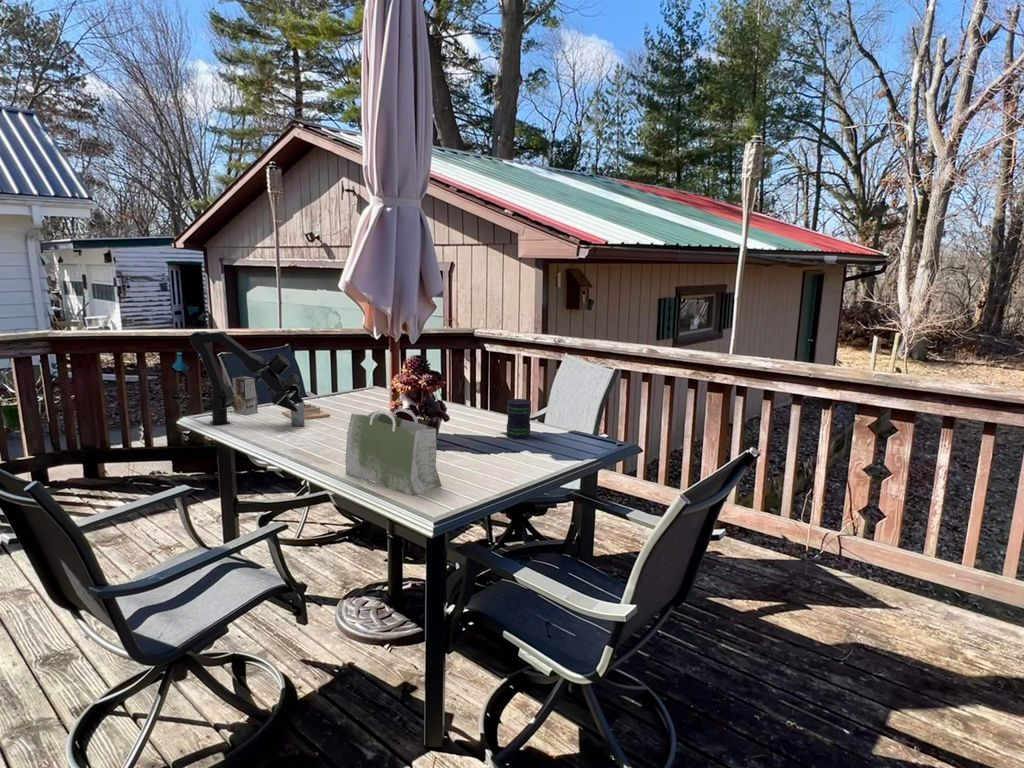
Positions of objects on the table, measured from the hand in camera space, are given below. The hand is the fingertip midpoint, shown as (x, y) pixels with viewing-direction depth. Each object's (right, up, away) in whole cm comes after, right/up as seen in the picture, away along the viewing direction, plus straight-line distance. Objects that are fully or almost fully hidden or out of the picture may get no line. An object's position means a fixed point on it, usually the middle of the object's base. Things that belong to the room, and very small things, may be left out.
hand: (300, 408), depth 263 cm
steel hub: (-2, -8, +1) cm, 8 cm away
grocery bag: (+50, -21, -61) cm, 82 cm away
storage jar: (+91, -12, -2) cm, 92 cm away
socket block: (-5, -4, +22) cm, 23 cm away
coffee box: (-33, -3, +23) cm, 40 cm away
